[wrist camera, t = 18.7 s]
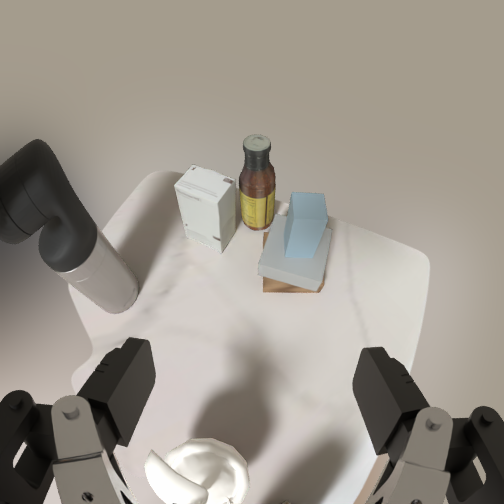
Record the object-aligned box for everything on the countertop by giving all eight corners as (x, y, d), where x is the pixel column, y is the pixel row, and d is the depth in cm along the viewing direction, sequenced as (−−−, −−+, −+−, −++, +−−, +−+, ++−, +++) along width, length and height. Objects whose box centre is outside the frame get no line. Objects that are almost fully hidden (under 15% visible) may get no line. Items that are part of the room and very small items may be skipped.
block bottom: (262, 293, 48) (264, 284, 45) (262, 243, 53) (263, 232, 50) (318, 293, 48) (324, 284, 45) (314, 245, 53) (318, 233, 50)
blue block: (284, 257, 43) (294, 218, 34) (283, 233, 45) (291, 192, 36) (312, 258, 43) (328, 220, 34) (310, 234, 45) (323, 193, 36)
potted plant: (261, 481, 32) (275, 560, 10) (194, 500, 29) (145, 576, 8) (230, 416, 37) (206, 442, 16) (163, 436, 35) (78, 465, 13)
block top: (257, 274, 46) (258, 263, 42) (273, 226, 50) (275, 213, 47) (316, 291, 44) (322, 281, 41) (327, 241, 49) (332, 229, 45)
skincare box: (186, 238, 53) (169, 186, 40) (202, 215, 56) (190, 161, 43) (224, 255, 51) (216, 203, 38) (238, 230, 54) (236, 176, 41)
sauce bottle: (263, 203, 57) (268, 124, 40) (278, 225, 55) (290, 146, 37) (235, 214, 56) (230, 135, 39) (248, 237, 53) (249, 159, 36)
